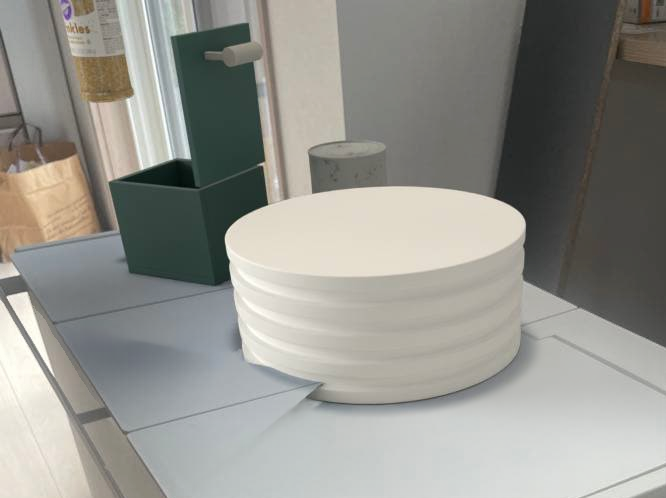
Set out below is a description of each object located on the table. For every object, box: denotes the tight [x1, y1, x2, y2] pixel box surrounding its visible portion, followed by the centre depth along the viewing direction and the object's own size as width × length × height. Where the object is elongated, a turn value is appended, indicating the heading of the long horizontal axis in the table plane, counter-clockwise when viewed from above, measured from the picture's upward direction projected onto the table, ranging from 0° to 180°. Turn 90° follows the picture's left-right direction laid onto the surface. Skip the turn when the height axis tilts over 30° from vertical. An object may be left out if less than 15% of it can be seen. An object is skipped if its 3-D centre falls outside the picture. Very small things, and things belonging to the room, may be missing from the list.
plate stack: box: [225, 185, 527, 405], centre depth 82 cm, size 28×28×12 cm
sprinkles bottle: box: [59, 0, 135, 104], centre depth 68 cm, size 5×5×14 cm
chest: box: [107, 157, 269, 287], centre depth 104 cm, size 14×13×11 cm
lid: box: [169, 22, 266, 187], centre depth 93 cm, size 14×13×5 cm
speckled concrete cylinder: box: [306, 139, 388, 194], centre depth 105 cm, size 10×10×12 cm
